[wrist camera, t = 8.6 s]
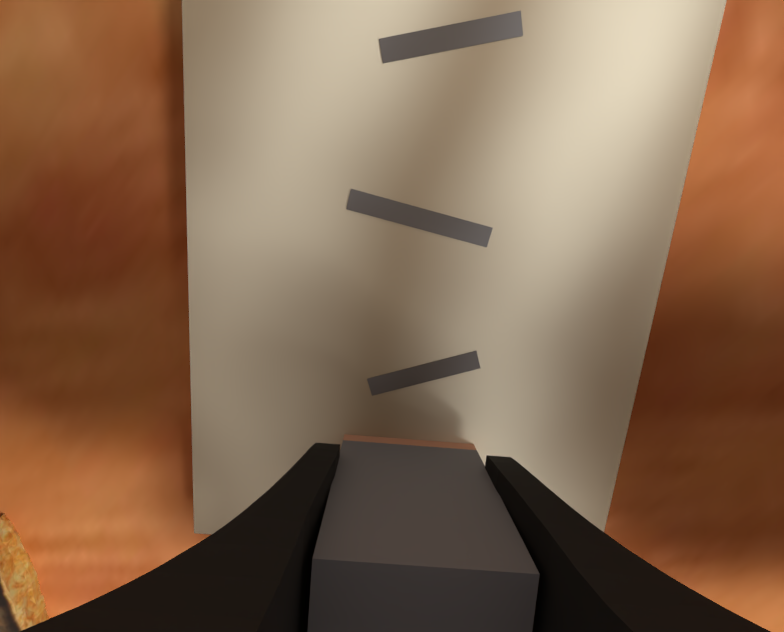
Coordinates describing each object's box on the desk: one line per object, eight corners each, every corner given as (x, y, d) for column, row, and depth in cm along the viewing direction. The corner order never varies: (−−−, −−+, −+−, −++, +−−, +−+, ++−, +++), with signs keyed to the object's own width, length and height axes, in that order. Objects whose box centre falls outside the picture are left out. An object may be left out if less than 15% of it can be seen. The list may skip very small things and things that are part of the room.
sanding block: (473, 443, 12) (539, 573, 7) (452, 640, 12) (497, 893, 7) (344, 434, 11) (312, 558, 6) (329, 632, 12) (290, 882, 7)
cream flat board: (711, -81, 10) (755, -122, 9) (579, 531, 14) (597, 562, 12) (203, -135, 10) (177, -186, 8) (211, 505, 13) (193, 534, 12)
